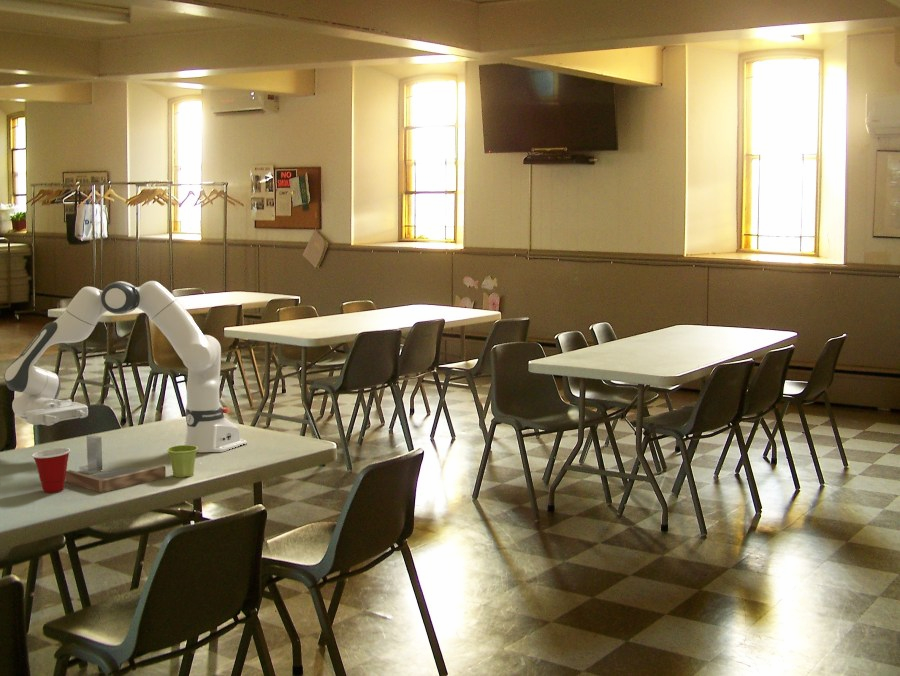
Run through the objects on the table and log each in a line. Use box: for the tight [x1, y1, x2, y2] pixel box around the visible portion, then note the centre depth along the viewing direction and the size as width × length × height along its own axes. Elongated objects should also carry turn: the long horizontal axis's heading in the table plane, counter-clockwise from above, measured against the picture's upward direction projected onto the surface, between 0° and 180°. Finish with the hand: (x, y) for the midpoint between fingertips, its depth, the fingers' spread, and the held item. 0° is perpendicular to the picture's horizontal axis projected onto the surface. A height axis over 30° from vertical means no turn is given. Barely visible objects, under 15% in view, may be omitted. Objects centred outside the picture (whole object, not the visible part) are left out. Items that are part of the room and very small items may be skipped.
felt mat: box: [92, 466, 141, 479], centre depth 334 cm, size 20×16×1 cm
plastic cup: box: [31, 447, 71, 494], centre depth 320 cm, size 11×11×12 cm
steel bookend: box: [79, 434, 103, 475], centre depth 342 cm, size 5×5×11 cm
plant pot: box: [166, 444, 198, 479], centre depth 338 cm, size 9×9×9 cm
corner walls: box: [65, 465, 167, 493], centre depth 332 cm, size 23×19×4 cm
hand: (70, 417), depth 350 cm, fingers open, 8 cm apart
